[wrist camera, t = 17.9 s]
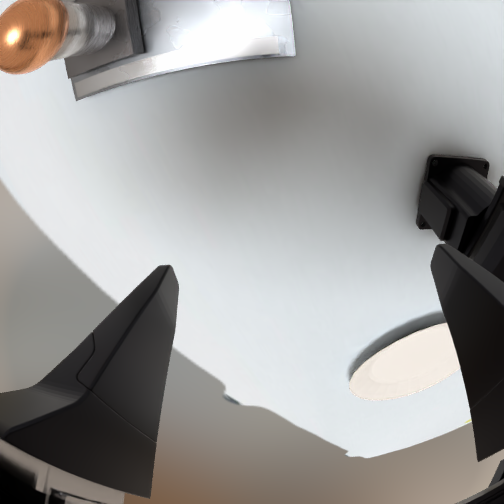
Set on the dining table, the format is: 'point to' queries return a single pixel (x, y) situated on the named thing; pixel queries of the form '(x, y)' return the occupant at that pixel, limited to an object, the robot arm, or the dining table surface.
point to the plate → (407, 365)
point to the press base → (196, 39)
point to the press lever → (68, 34)
